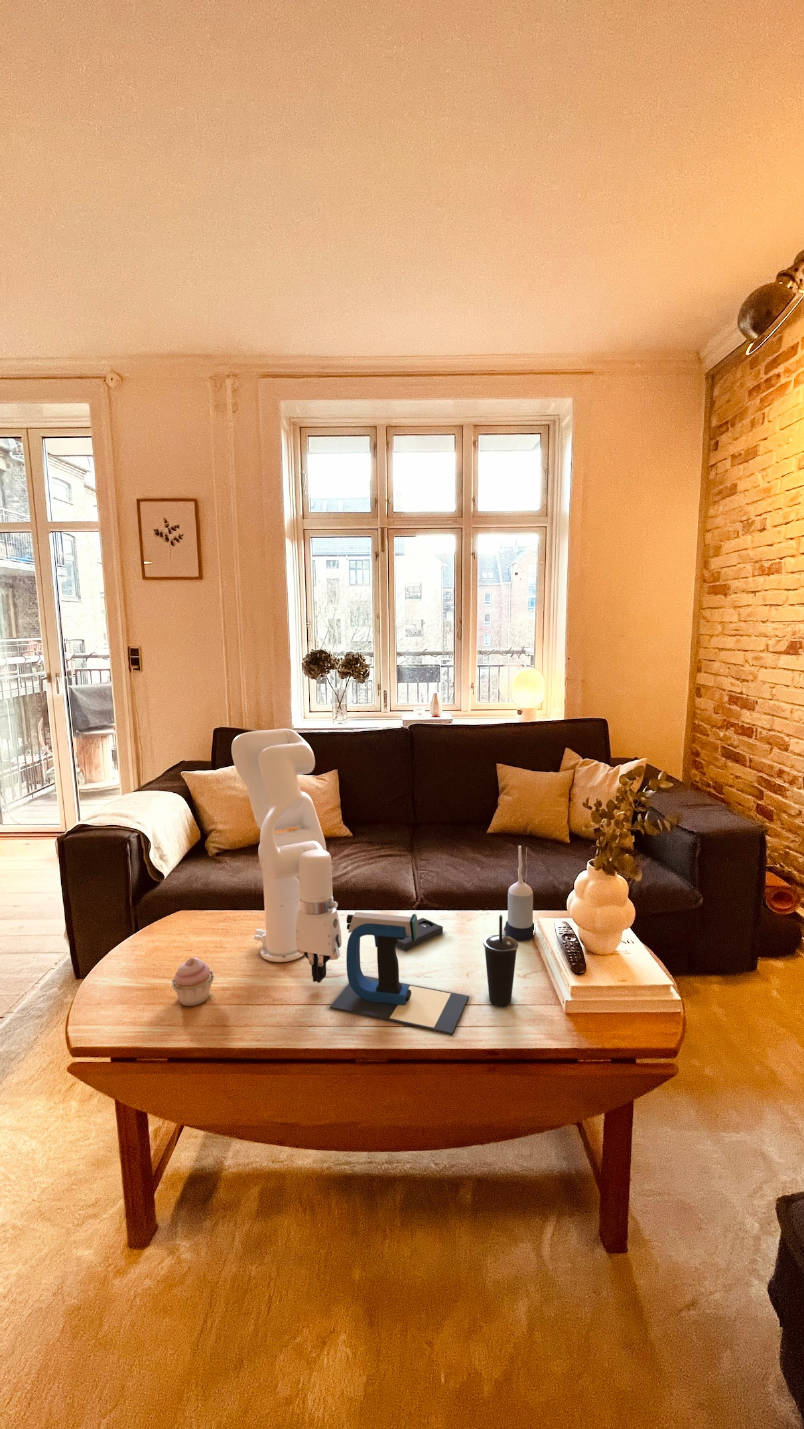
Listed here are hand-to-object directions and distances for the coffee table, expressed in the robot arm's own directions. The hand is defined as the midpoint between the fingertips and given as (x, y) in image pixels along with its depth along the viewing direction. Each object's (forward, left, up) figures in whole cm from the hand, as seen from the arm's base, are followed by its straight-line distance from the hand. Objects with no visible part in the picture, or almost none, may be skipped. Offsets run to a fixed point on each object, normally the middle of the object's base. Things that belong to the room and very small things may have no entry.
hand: (319, 979), depth 141 cm
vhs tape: (+13, +30, -2) cm, 33 cm away
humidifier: (+40, +41, -2) cm, 58 cm away
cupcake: (-25, -14, -2) cm, 28 cm away
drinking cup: (+41, +8, -2) cm, 42 cm away
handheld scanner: (+16, 0, -2) cm, 16 cm away
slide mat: (+20, 0, -2) cm, 20 cm away
